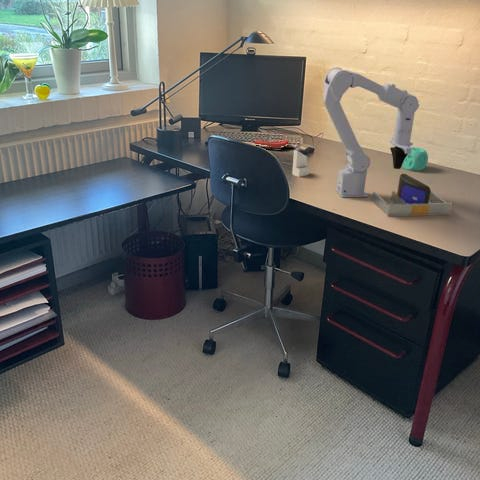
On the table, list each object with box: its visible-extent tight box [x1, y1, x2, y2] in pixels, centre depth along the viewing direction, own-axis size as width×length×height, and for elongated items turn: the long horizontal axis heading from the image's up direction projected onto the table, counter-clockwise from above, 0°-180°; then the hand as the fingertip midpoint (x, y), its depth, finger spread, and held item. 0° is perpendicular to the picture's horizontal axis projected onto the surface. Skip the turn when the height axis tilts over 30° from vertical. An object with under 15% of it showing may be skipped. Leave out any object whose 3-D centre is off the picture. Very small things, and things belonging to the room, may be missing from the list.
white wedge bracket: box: [291, 149, 311, 178], centre depth 207 cm, size 4×10×9 cm, turn 130°
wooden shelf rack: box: [371, 190, 453, 217], centre depth 178 cm, size 21×15×4 cm
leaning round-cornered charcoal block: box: [396, 173, 431, 203], centre depth 178 cm, size 16×5×9 cm, turn 17°
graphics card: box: [253, 139, 290, 149], centre depth 246 cm, size 20×32×4 cm, turn 71°
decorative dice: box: [401, 146, 429, 172], centre depth 220 cm, size 8×8×8 cm
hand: (397, 168), depth 187 cm, fingers closed
